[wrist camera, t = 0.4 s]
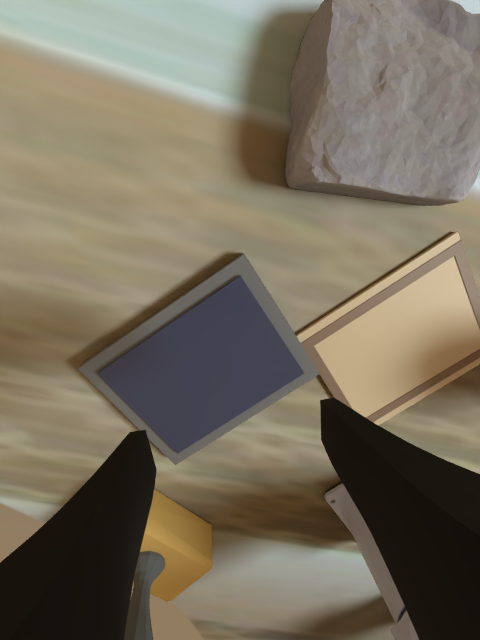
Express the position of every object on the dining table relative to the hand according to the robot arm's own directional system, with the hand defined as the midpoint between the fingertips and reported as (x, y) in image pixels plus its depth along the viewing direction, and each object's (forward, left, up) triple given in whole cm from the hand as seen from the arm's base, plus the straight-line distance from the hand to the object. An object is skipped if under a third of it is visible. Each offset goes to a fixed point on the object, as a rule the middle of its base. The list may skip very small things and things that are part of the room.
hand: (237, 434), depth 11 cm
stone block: (+7, -17, -11) cm, 21 cm away
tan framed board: (-9, -12, -10) cm, 18 cm away
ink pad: (-1, +2, -10) cm, 10 cm away
